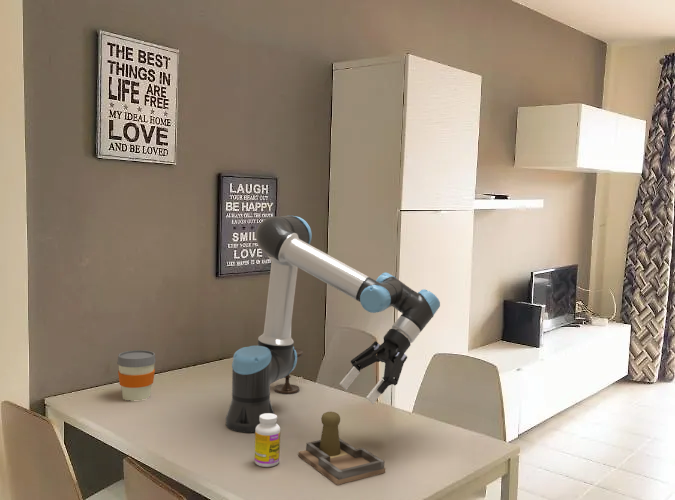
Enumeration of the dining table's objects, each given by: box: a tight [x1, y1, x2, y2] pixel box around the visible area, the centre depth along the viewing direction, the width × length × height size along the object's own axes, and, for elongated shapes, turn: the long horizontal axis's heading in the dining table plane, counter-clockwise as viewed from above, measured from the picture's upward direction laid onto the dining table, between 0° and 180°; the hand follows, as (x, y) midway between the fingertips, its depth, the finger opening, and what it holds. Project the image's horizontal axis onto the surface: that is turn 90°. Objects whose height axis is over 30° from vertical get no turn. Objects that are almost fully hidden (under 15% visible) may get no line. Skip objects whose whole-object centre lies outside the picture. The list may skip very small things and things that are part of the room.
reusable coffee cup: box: [116, 349, 157, 402], centre depth 222 cm, size 13×13×15 cm
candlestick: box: [274, 329, 304, 395], centre depth 234 cm, size 11×11×35 cm
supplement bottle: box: [254, 413, 281, 468], centre depth 172 cm, size 7×7×13 cm
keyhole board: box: [297, 437, 386, 486], centre depth 173 cm, size 20×15×3 cm
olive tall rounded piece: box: [319, 411, 341, 456], centre depth 178 cm, size 6×6×11 cm
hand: (355, 393), depth 180 cm, fingers open, 13 cm apart
